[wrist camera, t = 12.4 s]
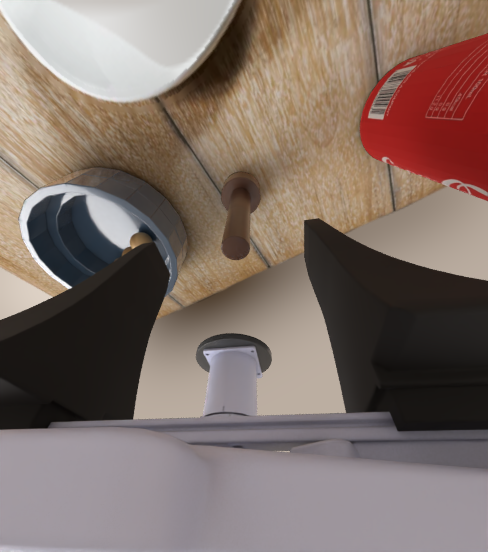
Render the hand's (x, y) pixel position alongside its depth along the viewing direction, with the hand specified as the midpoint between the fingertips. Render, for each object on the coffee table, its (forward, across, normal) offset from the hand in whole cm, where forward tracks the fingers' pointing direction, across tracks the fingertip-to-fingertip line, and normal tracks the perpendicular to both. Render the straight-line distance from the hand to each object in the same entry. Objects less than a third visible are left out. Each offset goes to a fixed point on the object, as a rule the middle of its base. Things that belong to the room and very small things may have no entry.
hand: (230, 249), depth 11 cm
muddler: (+10, 0, +1) cm, 10 cm away
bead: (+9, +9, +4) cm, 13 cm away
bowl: (+10, +12, +3) cm, 16 cm away
